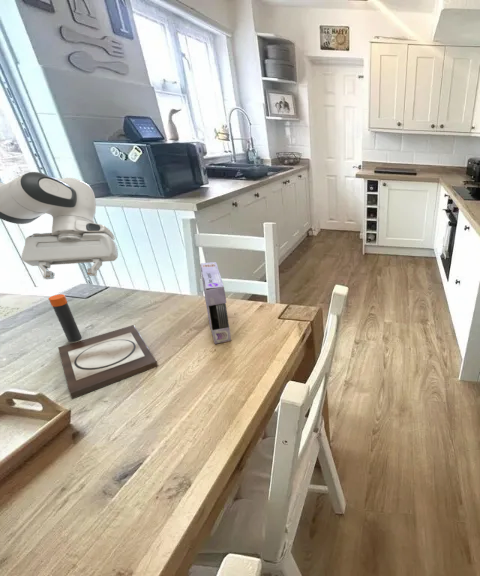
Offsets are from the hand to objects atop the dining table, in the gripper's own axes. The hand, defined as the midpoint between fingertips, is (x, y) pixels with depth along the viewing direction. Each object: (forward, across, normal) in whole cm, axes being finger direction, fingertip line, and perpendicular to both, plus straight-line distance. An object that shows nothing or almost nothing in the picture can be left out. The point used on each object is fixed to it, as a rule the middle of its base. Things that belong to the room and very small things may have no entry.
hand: (70, 276), depth 89 cm
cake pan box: (+20, +36, +1) cm, 41 cm away
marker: (+17, 0, +4) cm, 17 cm away
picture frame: (+25, +11, -5) cm, 28 cm away
